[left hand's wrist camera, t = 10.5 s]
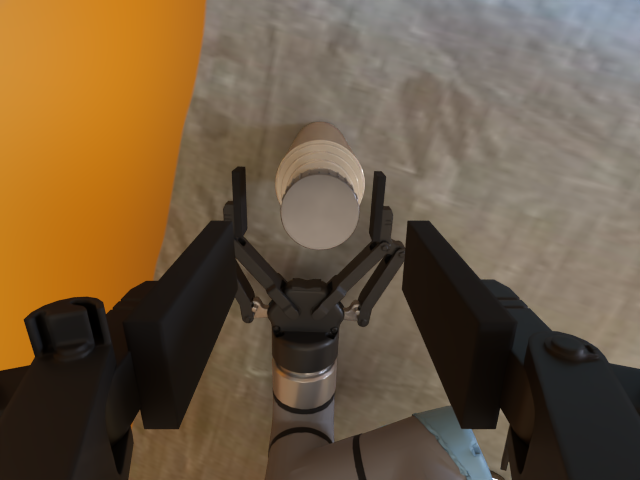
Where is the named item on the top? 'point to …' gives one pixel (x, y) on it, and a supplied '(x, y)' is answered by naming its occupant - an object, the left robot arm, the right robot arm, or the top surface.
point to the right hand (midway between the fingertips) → (309, 170)
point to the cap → (319, 209)
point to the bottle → (320, 157)
